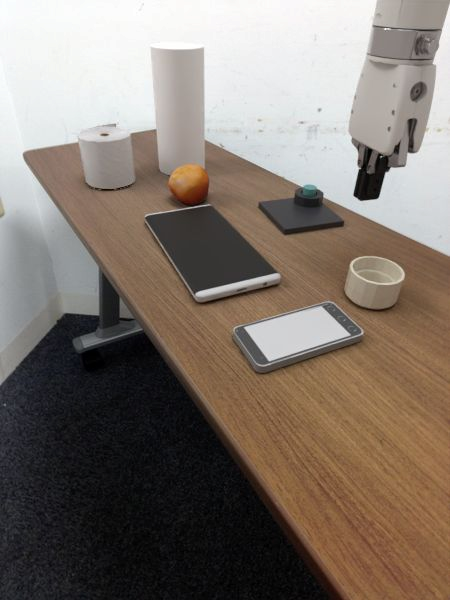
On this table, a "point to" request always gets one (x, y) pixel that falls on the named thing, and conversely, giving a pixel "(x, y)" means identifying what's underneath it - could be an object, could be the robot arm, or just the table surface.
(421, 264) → the table surface
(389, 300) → the bowl
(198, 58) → the tall pillar cylinder
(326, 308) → the smartphone
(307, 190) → the button
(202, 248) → the tablet
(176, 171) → the fruit
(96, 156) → the toilet tissue
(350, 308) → the table surface
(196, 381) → the table surface
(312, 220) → the scale
